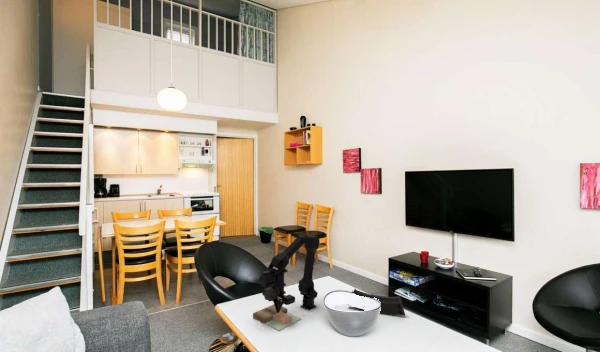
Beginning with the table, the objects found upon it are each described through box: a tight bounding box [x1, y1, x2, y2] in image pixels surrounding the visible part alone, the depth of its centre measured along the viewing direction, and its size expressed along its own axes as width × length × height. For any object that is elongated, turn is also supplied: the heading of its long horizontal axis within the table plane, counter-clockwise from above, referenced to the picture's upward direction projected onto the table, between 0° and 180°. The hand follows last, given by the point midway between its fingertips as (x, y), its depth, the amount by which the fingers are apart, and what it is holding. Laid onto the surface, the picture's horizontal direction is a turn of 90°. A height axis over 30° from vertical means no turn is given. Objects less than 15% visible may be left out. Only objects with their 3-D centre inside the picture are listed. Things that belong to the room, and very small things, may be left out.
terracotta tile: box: [272, 312, 292, 325], centre depth 153 cm, size 6×8×2 cm
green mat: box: [264, 312, 302, 332], centre depth 152 cm, size 16×10×1 cm, turn 138°
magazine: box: [350, 288, 406, 316], centre depth 165 cm, size 17×3×30 cm
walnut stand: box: [252, 304, 288, 325], centre depth 159 cm, size 16×9×2 cm, turn 138°
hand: (278, 312), depth 155 cm, fingers closed
